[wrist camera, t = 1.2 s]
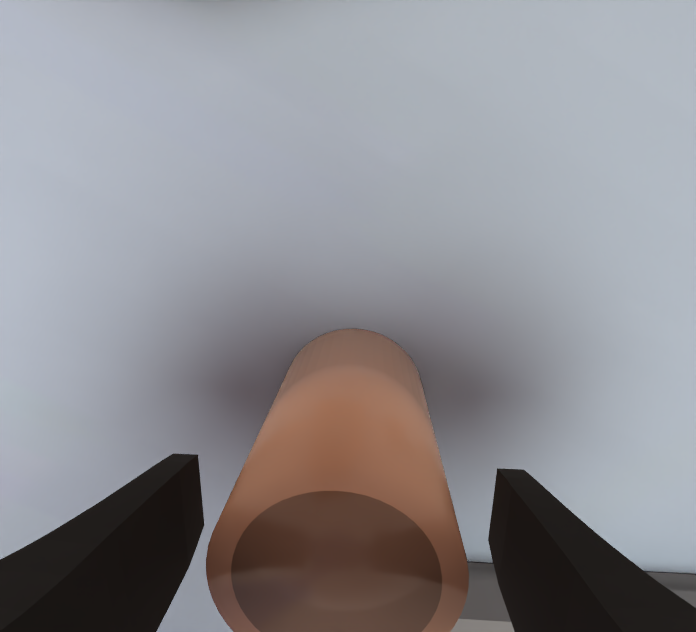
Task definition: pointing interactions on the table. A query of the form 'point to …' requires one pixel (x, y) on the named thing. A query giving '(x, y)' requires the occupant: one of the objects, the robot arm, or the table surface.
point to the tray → (491, 613)
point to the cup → (342, 503)
